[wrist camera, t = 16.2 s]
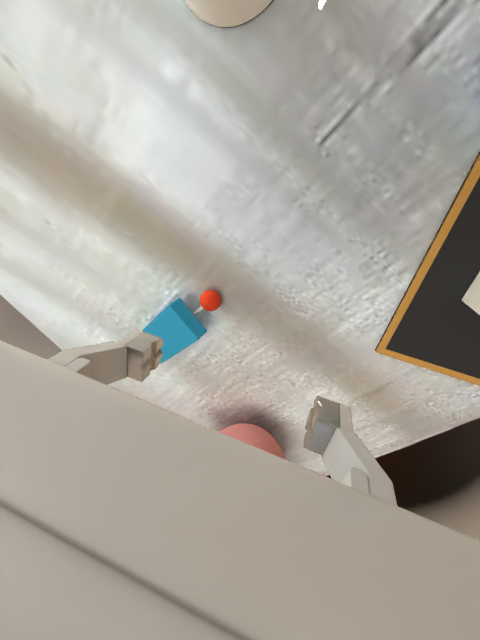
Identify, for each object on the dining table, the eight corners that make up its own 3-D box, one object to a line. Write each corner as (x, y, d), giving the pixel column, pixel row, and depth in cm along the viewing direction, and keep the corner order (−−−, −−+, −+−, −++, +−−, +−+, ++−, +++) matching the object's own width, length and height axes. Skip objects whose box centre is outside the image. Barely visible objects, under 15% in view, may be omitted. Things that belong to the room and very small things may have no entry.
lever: (183, 342, 57) (235, 307, 44) (160, 363, 52) (211, 331, 39) (162, 317, 56) (208, 274, 43) (136, 336, 51) (180, 294, 39)
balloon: (225, 377, 52) (187, 441, 38) (309, 441, 52) (300, 526, 38) (190, 419, 59) (148, 484, 46) (263, 474, 59) (243, 555, 46)
